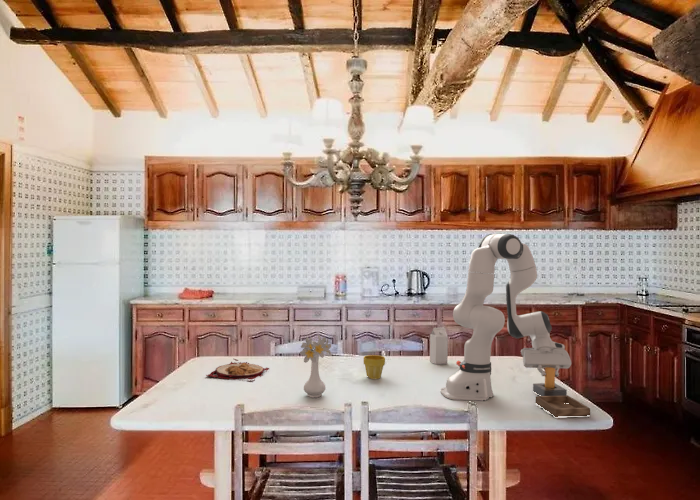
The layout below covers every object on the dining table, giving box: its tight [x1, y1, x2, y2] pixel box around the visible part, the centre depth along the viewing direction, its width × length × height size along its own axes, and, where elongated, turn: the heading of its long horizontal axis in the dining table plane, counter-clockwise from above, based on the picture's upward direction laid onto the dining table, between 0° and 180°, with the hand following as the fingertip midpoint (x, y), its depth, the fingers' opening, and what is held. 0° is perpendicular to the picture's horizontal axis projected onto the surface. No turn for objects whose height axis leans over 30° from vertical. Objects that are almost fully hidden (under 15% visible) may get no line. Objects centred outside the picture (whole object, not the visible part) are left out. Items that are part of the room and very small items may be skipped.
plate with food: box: [205, 358, 270, 382], centre depth 256 cm, size 25×26×4 cm
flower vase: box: [299, 334, 332, 399], centre depth 220 cm, size 13×18×25 cm
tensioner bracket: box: [532, 382, 568, 396], centre depth 225 cm, size 10×10×4 cm
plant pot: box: [363, 354, 386, 380], centre depth 251 cm, size 10×10×10 cm
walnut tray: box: [534, 395, 591, 417], centre depth 206 cm, size 14×16×4 cm
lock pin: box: [544, 367, 556, 388], centre depth 225 cm, size 4×4×12 cm
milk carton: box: [429, 327, 449, 365], centre depth 281 cm, size 7×7×19 cm
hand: (550, 375), depth 224 cm, fingers closed on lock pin, 4 cm apart
